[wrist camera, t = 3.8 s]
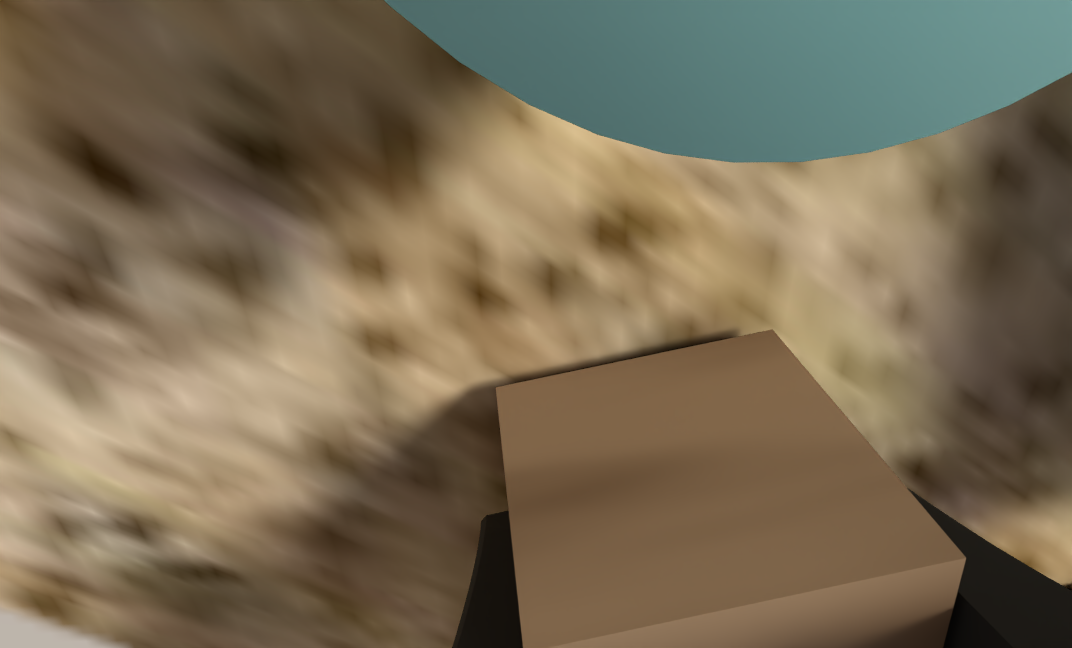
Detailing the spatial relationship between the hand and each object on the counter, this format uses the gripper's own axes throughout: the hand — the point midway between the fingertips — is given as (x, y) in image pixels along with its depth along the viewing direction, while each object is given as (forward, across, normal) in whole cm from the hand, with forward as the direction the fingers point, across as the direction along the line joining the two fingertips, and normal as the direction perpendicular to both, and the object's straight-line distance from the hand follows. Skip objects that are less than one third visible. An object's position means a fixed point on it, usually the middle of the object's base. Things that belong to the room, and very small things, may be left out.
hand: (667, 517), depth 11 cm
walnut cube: (+1, 0, 0) cm, 1 cm away
